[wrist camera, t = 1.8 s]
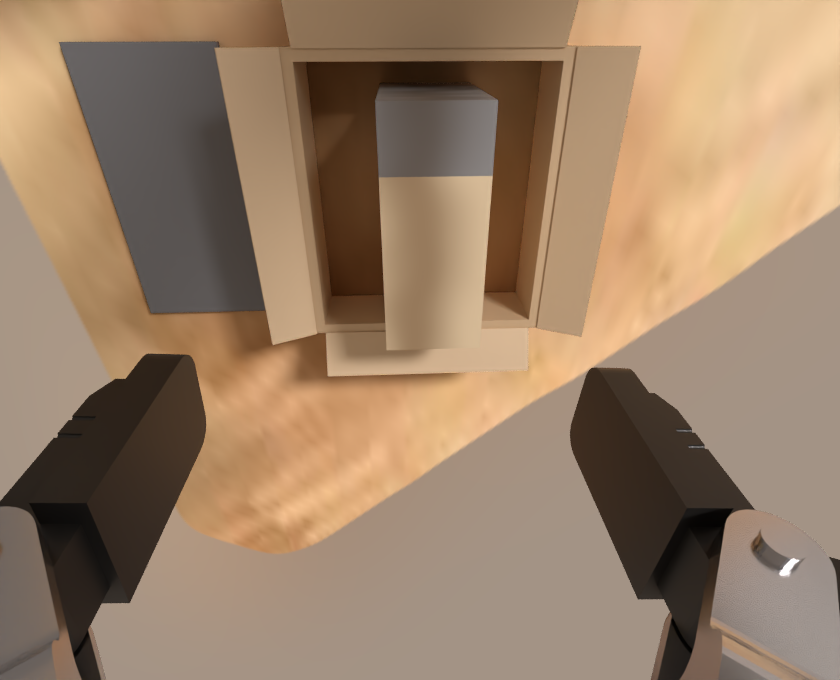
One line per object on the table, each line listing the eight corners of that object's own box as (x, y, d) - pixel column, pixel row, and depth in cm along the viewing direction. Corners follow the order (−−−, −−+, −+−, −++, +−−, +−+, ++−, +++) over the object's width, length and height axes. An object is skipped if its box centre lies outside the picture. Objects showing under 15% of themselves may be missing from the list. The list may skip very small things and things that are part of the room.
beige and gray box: (469, 82, 27) (498, 100, 20) (460, 277, 34) (479, 347, 26) (380, 82, 27) (375, 101, 19) (388, 278, 33) (386, 350, 26)
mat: (218, 41, 26) (216, 41, 25) (269, 307, 34) (267, 310, 34) (63, 41, 25) (59, 42, 25) (153, 310, 34) (150, 313, 34)
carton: (610, -14, 25) (658, -25, 21) (553, 329, 36) (575, 370, 32) (234, -15, 24) (198, -26, 20) (292, 336, 35) (277, 379, 31)
